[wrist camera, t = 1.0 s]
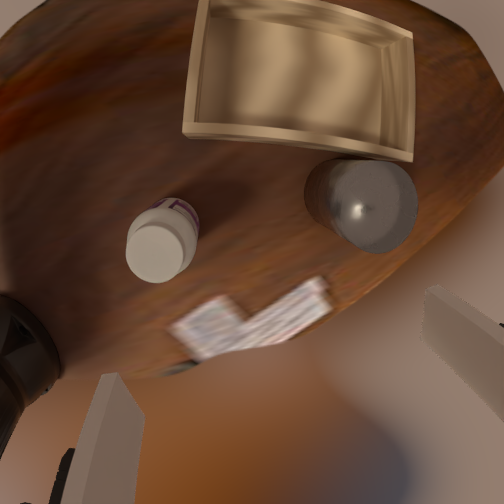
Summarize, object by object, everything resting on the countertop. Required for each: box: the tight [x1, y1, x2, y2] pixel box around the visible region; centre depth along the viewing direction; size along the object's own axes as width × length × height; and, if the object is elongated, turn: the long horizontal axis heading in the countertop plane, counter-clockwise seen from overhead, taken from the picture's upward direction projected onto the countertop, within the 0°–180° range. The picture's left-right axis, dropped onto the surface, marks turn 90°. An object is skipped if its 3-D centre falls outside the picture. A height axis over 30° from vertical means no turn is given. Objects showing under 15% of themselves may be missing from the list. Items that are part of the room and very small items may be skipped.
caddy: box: [182, 0, 415, 162], centre depth 22 cm, size 20×14×6 cm
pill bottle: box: [126, 198, 199, 283], centre depth 23 cm, size 5×5×10 cm
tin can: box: [304, 159, 418, 254], centre depth 24 cm, size 7×7×9 cm
